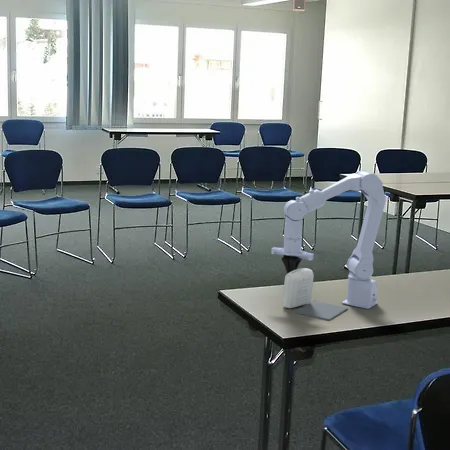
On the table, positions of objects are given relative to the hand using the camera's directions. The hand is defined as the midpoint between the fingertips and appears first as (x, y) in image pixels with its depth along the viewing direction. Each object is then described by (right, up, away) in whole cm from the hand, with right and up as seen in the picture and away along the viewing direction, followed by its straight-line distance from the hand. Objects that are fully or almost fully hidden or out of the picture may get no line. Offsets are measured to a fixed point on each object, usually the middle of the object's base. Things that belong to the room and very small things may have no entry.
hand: (291, 278), depth 222 cm
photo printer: (+2, -9, 0) cm, 9 cm away
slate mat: (+9, -10, -5) cm, 15 cm away
